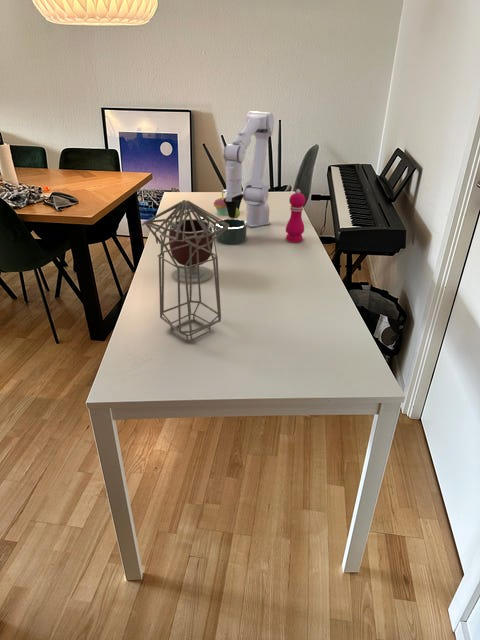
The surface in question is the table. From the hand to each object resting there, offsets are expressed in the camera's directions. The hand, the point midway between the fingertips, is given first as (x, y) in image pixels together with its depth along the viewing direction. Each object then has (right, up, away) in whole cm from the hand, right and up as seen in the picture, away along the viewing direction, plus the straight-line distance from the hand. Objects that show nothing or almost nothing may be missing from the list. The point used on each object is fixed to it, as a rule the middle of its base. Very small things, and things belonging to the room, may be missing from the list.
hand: (233, 215), depth 172 cm
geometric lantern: (-11, -44, -53) cm, 70 cm away
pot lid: (-13, -3, +13) cm, 19 cm away
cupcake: (-5, +8, +33) cm, 34 cm away
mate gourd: (-14, -26, -24) cm, 38 cm away
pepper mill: (+24, -9, +6) cm, 26 cm away
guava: (0, -1, +1) cm, 1 cm away
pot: (-1, -8, +5) cm, 10 cm away
